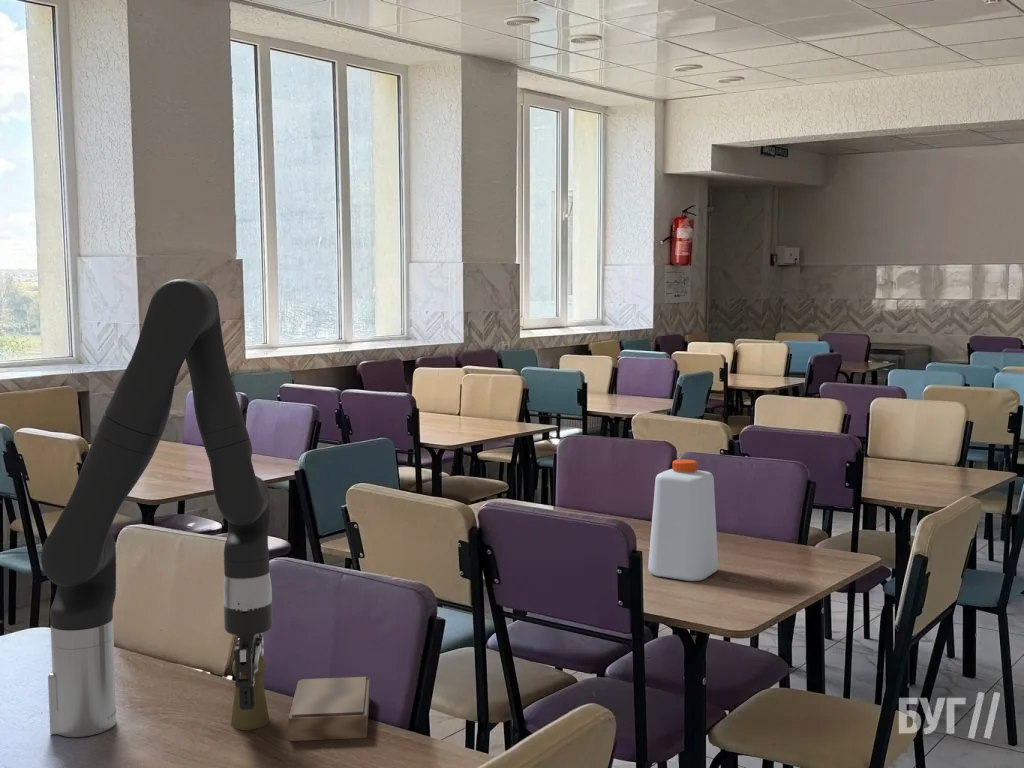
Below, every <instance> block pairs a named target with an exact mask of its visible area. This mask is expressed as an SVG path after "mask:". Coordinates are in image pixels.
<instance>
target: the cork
mask: <svg viewBox="0 0 1024 768" xmlns="http://www.w3.org/2000/svg"><path fill="white" fill-rule="evenodd" d="M252 665H253V664H252ZM231 669H232V674H233V676H234V677H235V678H236V675H235V659H234V660H233V662H232V668H231ZM265 671H266V661H265V659H264V656H263V657H262V656H260V655H259V666H258V671H257V672H256V673H255V680H254V681H255V684H254V700H255V706H254V708H253V709H249V710H242V709H240V697H239V687H236V685H235V684H234V686H235V687H234V694H233V702H232V703H233V704H232V711H231V720H230V725H231V727H232V726H233V727H232V728H233V729H236V728H237V730H242V731H246V730H249V731H250V730H256V728H257V729H259V728H263V727H265V726H267V725H268V724H269V723H268V722H270V718H269V717H270V716H269V715H270V714H269V711H268V710H269V709H268V704H267V697H266V692H265V684H264V679H263V675H264V673H265ZM242 679H248V672H246V673H243V674H242ZM264 725H265V726H264ZM262 726H263V727H262Z"/></svg>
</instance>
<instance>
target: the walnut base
mask: <svg viewBox="0 0 1024 768" xmlns="http://www.w3.org/2000/svg"><path fill="white" fill-rule="evenodd" d="M366 678H367V676H356V677H355V676H353V677H331V678H330V677H326V678H301V679H300V680H297V683H296V684H297V685H296V689H295V691H294V696H293V700H292V704H291V706H290V707H291V708H290V712H289V715H288V741H289V742H297V741H298V742H299V741H318V740H319V741H321V740H344V739H345V740H346V739H347V740H348V739H366V738H367V736H368V725H369V711H370V700H369V687H370V679H369V680H366Z"/></svg>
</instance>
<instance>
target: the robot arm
mask: <svg viewBox="0 0 1024 768" xmlns="http://www.w3.org/2000/svg"><path fill="white" fill-rule="evenodd" d="M225 349H226V348H225V344H224V339H223V331H222V324H221V315H220V309H219V302H218V298H217V296H216V294H215V293H214V291H213V290H212V288H210V287H209V286H208V285H207V284H206V283H204V282H201V281H200V280H196V279H191V278H190V279H189V278H185V279H183V278H179V279H178V278H175V279H172V280H169V281H167V282H165V283H162V285H160V286H159V287H158V288H157V289H156V291H155V292H154V293H153V295H152V297H151V299H150V302H149V303H148V307H147V310H146V314H145V318H144V321H143V324H142V328H141V330H140V333H139V337H138V340H137V343H136V345H135V349H134V351H133V354H132V357H131V358H130V361H129V363H128V365H127V366H126V367H125V370H124V372H123V374H122V375H121V377H120V380H119V381H118V383H117V386H116V388H115V390H114V392H113V395H112V396H111V398H110V400H109V402H108V404H107V406H106V408H105V411H104V413H103V415H102V417H101V420H100V421H99V424H98V426H97V429H96V431H95V433H94V437H93V439H92V440H91V444H90V447H89V448H88V451H87V454H86V456H85V458H84V461H83V464H82V467H81V469H80V472H79V475H78V477H77V480H76V483H75V486H74V488H73V491H72V494H71V495H70V497H69V499H68V501H67V503H66V505H65V507H64V509H62V511H61V514H60V516H59V517H58V519H57V521H56V523H55V524H54V526H53V528H52V530H51V531H50V533H49V534H48V536H47V538H46V539H45V541H44V543H43V546H42V548H41V554H40V563H41V568H42V571H43V573H44V575H45V576H46V578H47V579H48V580H50V582H51V583H53V584H55V585H57V586H56V590H55V591H56V592H55V596H54V599H53V601H52V604H51V607H50V610H49V618H50V620H49V623H50V645H51V669H52V671H51V672H50V673H49V674H48V676H47V686H48V687H47V688H48V710H49V711H48V713H49V734H50V735H59V736H62V737H67V738H83V737H89V736H94V735H98V734H101V733H103V732H107V731H108V730H110V729H112V728H113V727H114V726H115V725H116V723H117V702H116V701H117V700H116V697H117V695H116V671H115V665H116V664H115V639H114V613H113V612H114V604H115V600H116V594H117V550H116V544H115V543H116V542H115V539H114V536H113V534H112V531H111V528H112V525H113V522H114V520H115V518H116V515H117V513H118V512H119V509H120V507H121V506H122V504H124V503H123V502H124V501H125V500H126V499H127V497H128V496H129V494H130V492H131V491H132V490H133V489H134V487H135V486H136V484H137V483H138V482H139V480H140V478H141V477H142V475H143V474H144V472H145V470H146V469H147V467H148V465H149V464H150V462H151V460H152V459H153V457H154V454H155V452H156V449H157V448H158V445H159V443H160V441H161V438H162V436H163V434H164V432H165V430H166V426H167V424H168V421H169V417H170V413H171V409H172V408H171V407H172V403H173V397H174V392H175V387H176V386H175V385H176V382H177V379H178V376H179V373H180V371H181V368H182V367H183V363H184V362H185V363H186V366H187V370H188V373H189V378H190V382H191V390H192V398H193V399H192V400H193V406H194V407H193V408H194V413H195V414H194V415H195V420H196V423H197V427H198V431H199V434H200V438H201V440H202V444H203V447H204V450H205V453H206V456H207V459H208V461H209V466H210V472H211V480H212V486H213V492H214V497H215V502H216V504H217V507H218V510H219V511H220V514H221V515H222V516H223V518H224V519H225V520H226V521H227V537H226V540H225V543H224V547H223V572H224V575H223V576H224V579H223V591H222V592H223V614H224V615H223V617H224V618H223V619H224V630H225V632H226V633H228V634H230V635H233V636H234V635H235V636H237V637H238V638H237V643H235V646H234V647H235V648H234V652H233V653H234V660H235V675H236V677H235V682H234V686H235V685H236V687H239V697H240V709H242V710H249V709H253V708H254V706H255V700H254V684H255V681H254V680H255V673H256V672H257V671H258V666H259V655H260V656H262V657H263V658H264V655H265V652H264V651H265V650H264V637H263V636H264V633H266V632H268V631H270V629H271V628H272V627H273V626H274V625H273V622H274V621H273V620H274V619H273V595H272V594H273V592H272V591H273V590H272V580H271V575H270V572H271V571H270V551H269V530H270V519H271V518H270V517H271V494H270V490H269V487H268V485H267V483H266V482H265V481H264V480H263V478H261V477H259V476H257V475H256V472H255V469H254V465H253V462H252V456H253V447H252V441H251V438H250V434H249V432H248V429H247V424H246V422H245V418H244V415H243V411H242V408H241V406H240V403H239V400H238V399H239V398H238V397H237V392H236V389H235V387H234V383H233V380H232V376H231V373H230V368H229V365H228V360H227V355H226V350H225ZM252 664H253V665H252ZM246 672H248V679H242V674H243V673H246Z"/></svg>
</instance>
